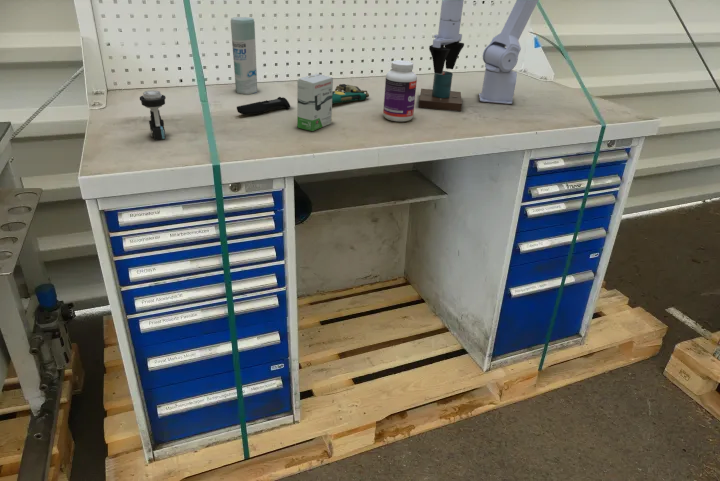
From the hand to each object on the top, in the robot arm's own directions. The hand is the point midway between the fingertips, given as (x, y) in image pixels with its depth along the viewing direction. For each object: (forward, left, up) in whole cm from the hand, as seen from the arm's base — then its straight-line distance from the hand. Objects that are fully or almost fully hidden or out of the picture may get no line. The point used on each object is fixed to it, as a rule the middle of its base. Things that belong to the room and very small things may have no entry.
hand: (443, 70), depth 150 cm
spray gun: (+29, +5, -10) cm, 31 cm away
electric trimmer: (+46, +23, -10) cm, 52 cm away
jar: (0, 0, -7) cm, 7 cm away
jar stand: (0, 0, -9) cm, 9 cm away
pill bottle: (+11, +18, -10) cm, 23 cm away
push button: (+64, +47, -10) cm, 80 cm away
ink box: (+31, +30, -10) cm, 44 cm away
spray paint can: (+57, +5, -10) cm, 58 cm away
